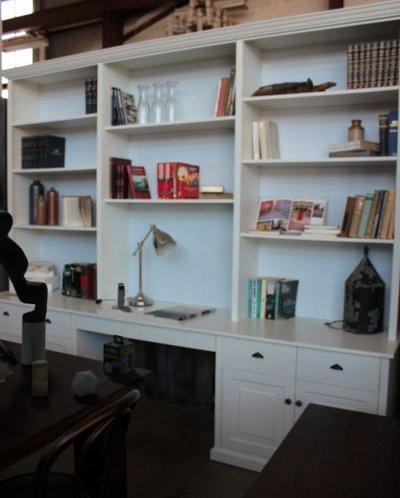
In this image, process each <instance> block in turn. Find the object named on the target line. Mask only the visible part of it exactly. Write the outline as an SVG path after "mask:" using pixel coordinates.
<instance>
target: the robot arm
mask: <svg viewBox="0 0 400 498" xmlns="http://www.w3.org/2000/svg"><path fill="white" fill-rule="evenodd" d="M13 226H14V218H13V215H12V214H11V213H10V212H8V211H5V210H3V209H0V265H1V267H2V269H3V270H4V272H5V273H6V275H7V277H8V279H9V281H10V282H11V284H12V286H13V289H14V292H15V295H16V296H17V298H18V300H19V302H21V303H22V304H24V305H25V304H26V305H34V309H33V310H30V311H26V312H24V313H22V316H21V364H23V365H25V366H32V363H33V362H34V361H39V360H44V361H46V344H47V343H46V342H47V341H46V340H47V339H46V338H47V333H46V332H47V331H46V329H47V328H46V327H47V323H46V322H47V321H46V319H47V314H48V313H47V312H48V298H49V297H48V296H49V287H48V285H47V283H46V282H44V281H31V280H27V279H26V277H25V275H26V273H27V271H28V269H29V260H28V257H27V254H25V252H24V250H23V248H22V247H21V246H20V245H19V244H18V243H17V242H16V241H15V240H13V239H12V238H11V237H10V236H9V235H8V234H9V233H10V232H11V230H12V228H13ZM14 356H15V354H14V353H13V352H12V351H11V350H10V349H9V348H7V346H6V345H5V343H4V342H3V341H1V340H0V359H1V360H2V361H3V362H5V361H6V362H7V363H8V364H9V365H11V367H13V368H14V367H16V366H17V365H18V364H19V361H18V360H17V358H15V357H14Z"/></svg>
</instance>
